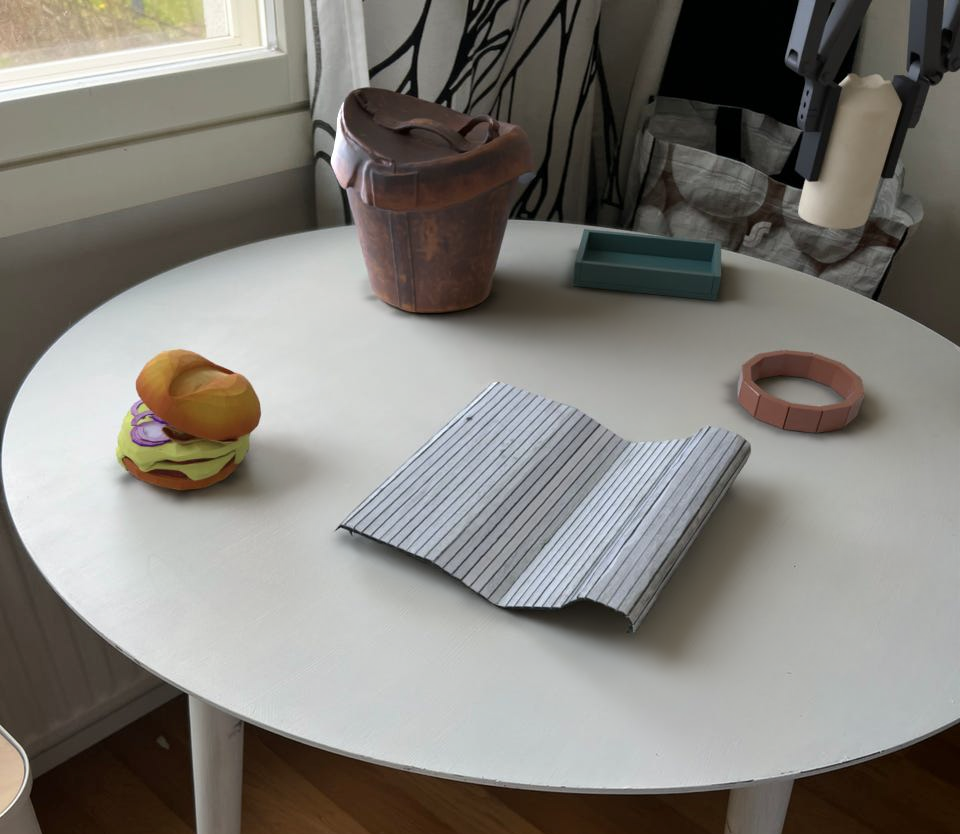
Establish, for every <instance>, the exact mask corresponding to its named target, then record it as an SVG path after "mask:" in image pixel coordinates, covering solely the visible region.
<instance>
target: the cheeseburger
mask: <svg viewBox="0 0 960 834" xmlns="http://www.w3.org/2000/svg"><path fill="white" fill-rule="evenodd" d="M135 390H136V393H137V396H138V397H139V398H140V399H139V400H138V401H136V402H134V403H133V404H132V406H131V407H130V408H129V410H128V412H126V414H125V416H124V418H123V419H122V422H121V423H122V424H121V430H120V431H119V433H118V434H117V445H116V447H115V455H116V459H117V462H118V464H119V465H120V466H121V467H122V468H123V469H124V470H125V472H127V473H130V474H131V475H132V476H134V477H135V478H137V479H138V480H140V481H143V482H146V483H148V484H151V485H154V486H157V487H161V488H166V489H170V490H171V489H172V490H177V491H185V490H186V491H187V490H196V489H205V488H207V487H210V486H211V485H214V484H216V483H218V482H220V481H223V480H225V479H226V478H227V477H229V475H230V474H232V473H233V472H234V471H235V470H236V469H237V468H238V466H239V464H241V463H242V461H243V460H244V458H245V456H246V455H247V452H248V450H249V447H250V439H251V438H250V437H251V434H252V432H253V431H255V430H256V428H257V427H258V426H259V424H260V421H261V417H262V408H261V402H260V399H259V397H258V394H257V393H256V391H255V389H254V386H253V385H252V383H251V381H249V379H247V377H245V375H243V374H241V373H239V372H235V371H233V370H231V369H229V368H227V367H224V366H221V365H219V364H217V363H214V362H213V361H211V360H209V359H208V358H206V357H205V356H203V355H202V354H199V353H197V352H194V351H192V350H187V349H181V348H178V349H170V350H163V351H161V352H160V353H158V354H156V355H155V356H154V357H153V358H151V359H149V360H148V361H147V362H146V363H145V365H144V366H143V368H142V369H141V371H140V372H139V373H138V375H137V377H136V380H135Z"/></svg>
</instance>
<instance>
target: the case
mask: <svg viewBox="0 0 960 834" xmlns="http://www.w3.org/2000/svg"><path fill="white" fill-rule="evenodd" d="M533 158H534V157H533V152H532V146H531V142H530V138H529V136H528V134H527V132H526V131H525V130H524V129H523V128H522V127H521V126H520V125H518V124H513V123H509V122H506V121H501V120H497V119H496V118H493V117H492V116H491V115H488V114H486V113H485V114H480V115H478V116H475V115H471V114H466V113H463V112H461V111H459V110H455V109H453V108H450V107H447V106H446V105H445V106H444V105H442V104H439V103H436V102H432V101H429V100H426V99H422V98H419V97H416V96H412V95H409V94H404V93H401V92H397V91H394V90H391V89H387V88H382V87H381V88H380V87H373V86H365V87H359V88H356V89H353V90H351V91H350V92H349V93H348V94H347V95H346V96H345V98H344V100H343V102H342V104H341V106H340V108H339V111H338V115H337V121H336V133H335V140H334V145H333V151H332V154H331V158H330V165H331V168H332V169H333V173H334V175H335V177H336V179H337V180H338V183H339V186H340V187H341V188H343V190H346V195H347V199H348V203H349V207H350V210H351V214H352V219H353V221H354V225H355V230H356V233H357V236H358V241H359V246H360V249H361V253H362V256H363V260H364V263H365V264H364V265H365V267H366V271H367V275H368V279H369V284H370V287H371V290H372V291H373V293H374V295H376V296H377V297H378V298H379V299H380V300H381V301H383V302H384V303H387V304H389V305H390V306H393V307H396V308H397V309H400V310H402V311H406V312H411V313H422V314H423V313H424V314H439V313H449V312H450V313H451V312H456V311H462V310H466V309H470V308H474V307H475V306H477V305H479V304H482V303H483V302H484V301H485V300H486V299H487V298H488V297H489V295H490V294H491V290H492V285H493V279H494V275H495V272H496V268H497V263H498V259H499V256H500V252H501V249H502V244H503V241H504V237H505V234H506V230H507V227H508V222H509V219H510V218H509V217H510V214H511V209H512V205H513V202H514V198H515V194H516V190H517V186H518V183H519V184H520V185H524V184H527V183H528V182H531V181H532V180H533V179H535V177H537V172H536V169H535V164H534V159H533Z"/></svg>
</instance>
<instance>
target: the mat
mask: <svg viewBox="0 0 960 834" xmlns="http://www.w3.org/2000/svg"><path fill="white" fill-rule="evenodd" d="M751 454H752V445H751V442H749V441H748V440H747V439H746V438H744V437H743V436H742V435H741V434H738V433H735V432H732V431H729V430H727V429H723V428H720V427H715V426H710V425H707V426H705V427H702V428H699V430H697V432H695V433H694V434H693V435H691V436H688V437H686V438H679V439H678V438H677V439H668V440H664V441H663V440H662V441H642V442H641V441H640V442H635V441H628V440H625V439H624V438H622V437H621V436H619V435H618V434H616V433H615V432H613V431H612V430H610V429H609V428H607V427H606V426H604V425H603V424H601V423H600V422H598V421H597V420H595V419H594V418H593V417H591V416H590V415H588V414H586V413H585V412H583V411H582V410H580V409H579V408H577V407H575V406H572V405H568V404H565V403H562V402H560V401H556V400H553V399H550V398H548V397H545V396H543V395H541V394H540V395H539V394H537V393H534V392H531V391H528V390H525V389H522V388H519V387H517V386H514V385H512V384H508V383H505V382H501V381H495V382H492V383H489V384H488V385H487V386H486V387H484V389H483V390H482V391H481V392H480V393H478V394H477V395H476V396H475V397H474V398H473V399H472V400H471V401H470V402H469V403H468V404H467V405H465V406H464V407H463V408H462V409H461V410H459V412H458V413H457V414H456V415H454V416H453V417H452V419H450V420H449V421H448V422H447V423H446V424H445V425H443V426H442V428H440V429H439V430H438V431H437V432H436V433H435V434H434V435H433V436H431V438H430V439H428V440H427V441H426V442H425V443H424V444H423V445H422V446H421V447H419V449H417V450H416V451H415V452H413V454H412V455H411V456H410V457H409V458H408V459H407V460H405V461H404V463H402V464H401V465H400V466H399V467H398V468H397V469H396V470H395V471H394V472H393V473H392V474H391V475H389V476H388V477H387V478H386V479H385V480H384V481H383V482H382V483H381V484H379V486H377V487H376V488H375V489H374V490H373V491H372V492H371V493H369V495H368V496H367V497H366V498H365V499H364V500H362V501H361V502H360V503H359V504H358V505H357V506H356V507H355V508H354V509H353V510H352V511H350V513H349V514H348V515H347V516H346V517H345V518H344V519H343V521H342V522H341V523H340V524H338V526H337V527H336V529H335V530H334V531H333V533H334V532H336V531H338V530H339V529H343V530H346V531H348V532H349V534H350V535H351V537H352V538H354V536H353V535H354V534H356V535H359V536H362V537H364V538H366V539H368V540H371V541H373V542H376V543H378V544H380V545H385V546H387V547H389V548H391V549H394V550H396V551H399V552H401V553H404V554H405V555H409V556H410V557H413V558H415V559H417V560H419V561H422V562H424V563H426V564H428V565H431V566H433V567H435V568H436V569H439V570H440V571H441V572H443V573H445V574H446V575H448V576H450V577H451V578H453V579H455V580H456V581H458V582H459V583H461V585H463V586H465V587H466V588H468V589H469V590H470V591H472V592H473V593H475V594H477V595H478V596H479V597H481V598H482V599H484V600H486V601H487V602H489V603H491V604H492V605H494V606H496V607H497V608H503V609H510V610H539V611H558V610H561V609H563V608H566V607H568V606H572V604H576V603H578V602H581V601H584V602H592V603H597V604H598V603H599V604H601V605H603V606H604V607H606V608H609V609H611V610H613V611H615V612H617V613H620V614H621V615H622V616H623V617H625V618H626V619H627V620H628V621H629V625H628V627H627V629H626V633H627V634H629V633H631V634H634V633H635V632H636V630H637V629H638V628H639V627H640V626H641V624H642V623H643V622H644V620H645V619H646V617H647V616H648V614H649V613H650V612H651V610H652V609H653V607H654V605H655V603H656V601H657V600H658V598H659V596H660V595H661V593H662V591H663V590H664V589H665V588H666V586H667V585H668V583H669V582H670V581H671V579H672V577H673V575H674V574H675V572H676V571H677V570H678V567H679V566H680V564H681V562H682V561H683V560H684V558H685V556H686V555H687V553H688V551H689V550H690V549H691V547H692V545H693V544H694V542H695V541H696V539H697V538H698V536H699V535H700V533H701V531H702V530H703V529H704V527H705V526H706V524H707V523H708V521H709V520H710V518H711V516H712V515H713V513H714V512H715V511H716V509H717V508H718V506H719V504H720V503H721V502H722V500H723V498H724V497H725V496H726V494H727V493H728V491H729V489H730V488H731V486H732V485H733V483H734V482H735V481H736V479H737V478H738V476H739V474H740V473H741V472H742V470H743V469H744V467H745V466H746V464H747V462H748V460H749V458H750V456H751ZM353 533H354V534H353Z"/></svg>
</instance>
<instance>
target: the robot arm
mask: <svg viewBox="0 0 960 834" xmlns="http://www.w3.org/2000/svg"><path fill="white" fill-rule="evenodd" d="M832 2H833V0H798V4H797V7H796V8H797V9H796V12H795V16H794V20H793V24H792V29H791V33H790V36H789V41H788V45H787V49H786V52H785V57H784V64H785V66H786V67H787V68H789V69H790V70H792V71H793V72H795V73H796V74H798V75H799V76H801V77H804V87H803V92H802V96H801V100H800V105H799V109H798V114H797V117H796V123H797V124H796V125H797V127H798V128H799V129H800V130H802V131H803V133H802V137H801V141H800V146H799V150H798V154H797V155H798V156H797V159H796V163H795V167H794V171H795V172H796V173H797V174H799V175H800V176H801V177H802V178H804V179H806V180H807V181H808V182H818V180H819V176H820V172H821V168H822V164H823V160H824V156H825V152H826V149H827V145H828V141H829V137H830V133H831V129H832V125H833V121H834V117H835V114H836V110H837V106H838V102H839V98H840V94H841V90H842V87H841V86H840V85H839V84H838V83H837V82H836V81H834V80H835V78H836V76H837V74H838V72H839V70H840V68H841V66H842V64H843V61H844V59H845V57H846V55H847V53H848V51H849V50H850V47H851V46H852V43H853V41H854V39H855V37H856V35H857V33H858V31H859V29H860V26H861V25H862V22H863V20H864V18H865V16H866V14H867V12H868V11H869V9H870V6H871V4H872V2H873V0H836V1H835V3H834V5H833V7H832V9H831V6H832V4H833V3H832ZM830 10H831V11H830ZM908 20H909V21H908V34H907V35H908V36H907V53H906V72H907V75H904V74H894V76H893V78H892V81H891V83H892V85H893V87H894V89H895V91H896V93H897V95H898V97H899V99H900V101H901V103H902V106H901V110H900V113H899V116H898V120H897V123H896V126H895V130H894V133H893V136H892V140H891V143H890V146H889V150H888V153H887V157H886V160H885V163H884V167H883V170H882V173H881V177H880V178H882V179H884V180H885V179H888V180H889V179H893V178H894V175H895V173H896V169H897V166H898V162H899V159H900V155H901V153H902V149H903V146H904V143H905V140H906V136H907V133H908V129H915V128H916V127H917V126H918V124H919V121H920V119H921V115H922V112H923V110H924V106H925V103H926V100H927V97H928V94H929V91H930V87H935V86H937V85H939V84H940V83H941V81H942V80H943V78H944V75H945V73H946V74H947V73H948V72H950V73H956V72H958V71H960V0H946V1H945V0H910V2H909V19H908Z"/></svg>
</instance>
